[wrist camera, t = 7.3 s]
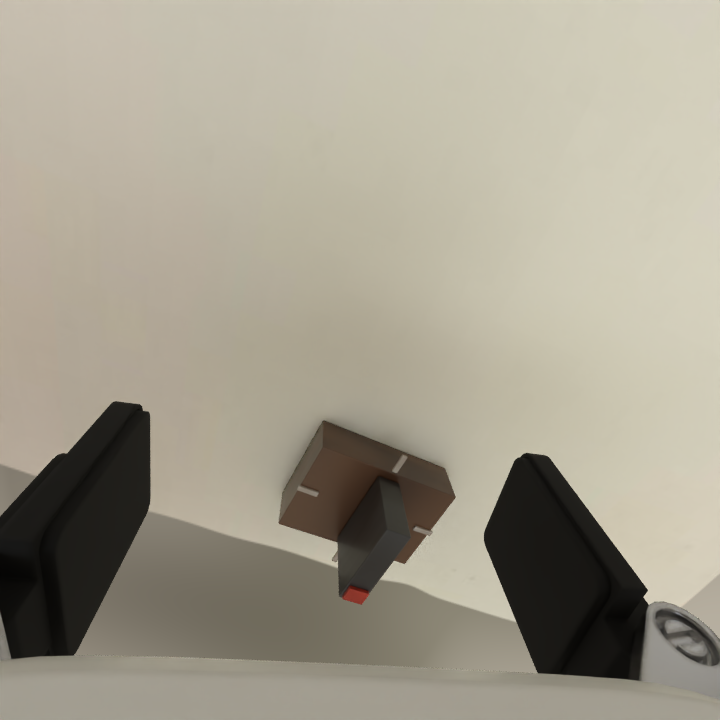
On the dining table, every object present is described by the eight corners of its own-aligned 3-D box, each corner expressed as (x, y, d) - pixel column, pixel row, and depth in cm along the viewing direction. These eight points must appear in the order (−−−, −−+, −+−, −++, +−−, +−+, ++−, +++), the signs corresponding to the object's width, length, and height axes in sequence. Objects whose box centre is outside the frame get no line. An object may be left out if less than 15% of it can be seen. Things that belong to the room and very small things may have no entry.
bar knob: (378, 475, 28) (387, 532, 23) (399, 483, 28) (412, 541, 24) (337, 537, 30) (338, 600, 26) (357, 543, 30) (362, 607, 26)
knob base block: (272, 507, 32) (267, 541, 29) (332, 401, 29) (332, 427, 26) (390, 546, 35) (395, 580, 32) (457, 453, 31) (471, 482, 28)
